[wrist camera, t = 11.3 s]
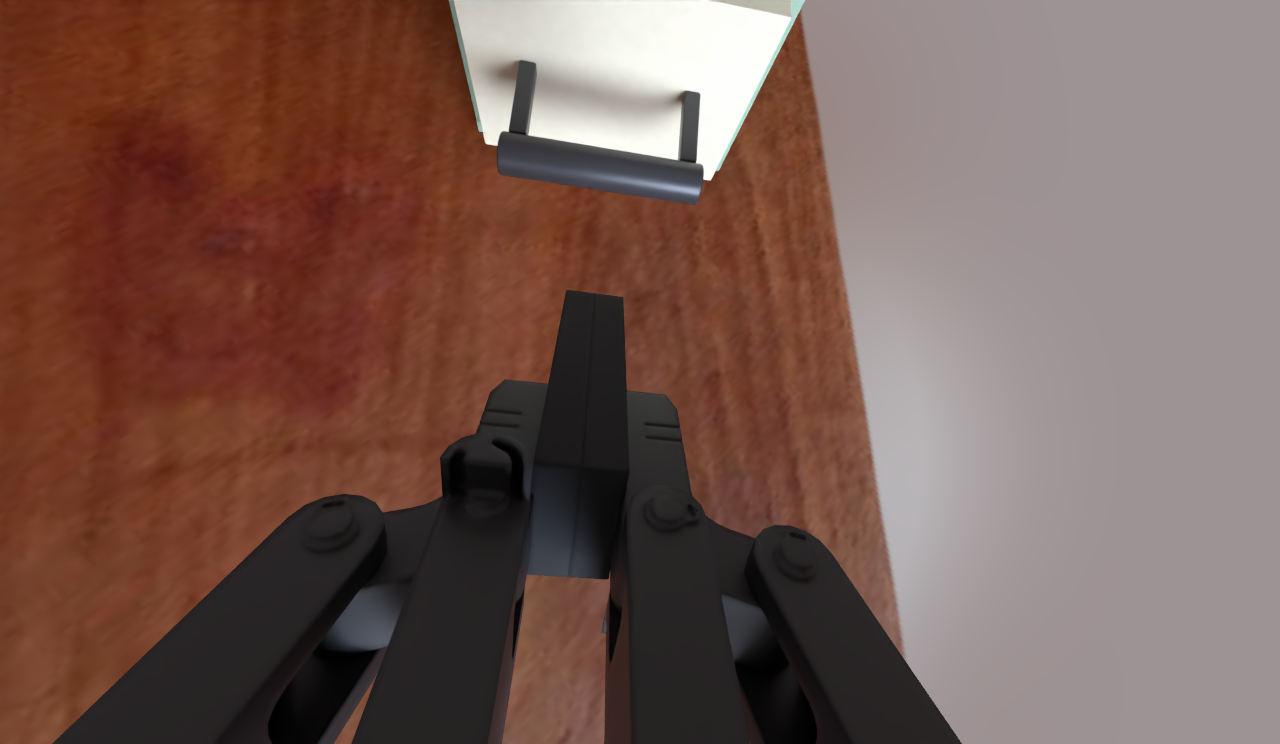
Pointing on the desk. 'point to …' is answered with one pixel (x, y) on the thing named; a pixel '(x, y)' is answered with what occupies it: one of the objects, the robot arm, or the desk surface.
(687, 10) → the drawer
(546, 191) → the desk surface
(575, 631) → the desk surface
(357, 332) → the desk surface
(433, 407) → the desk surface
